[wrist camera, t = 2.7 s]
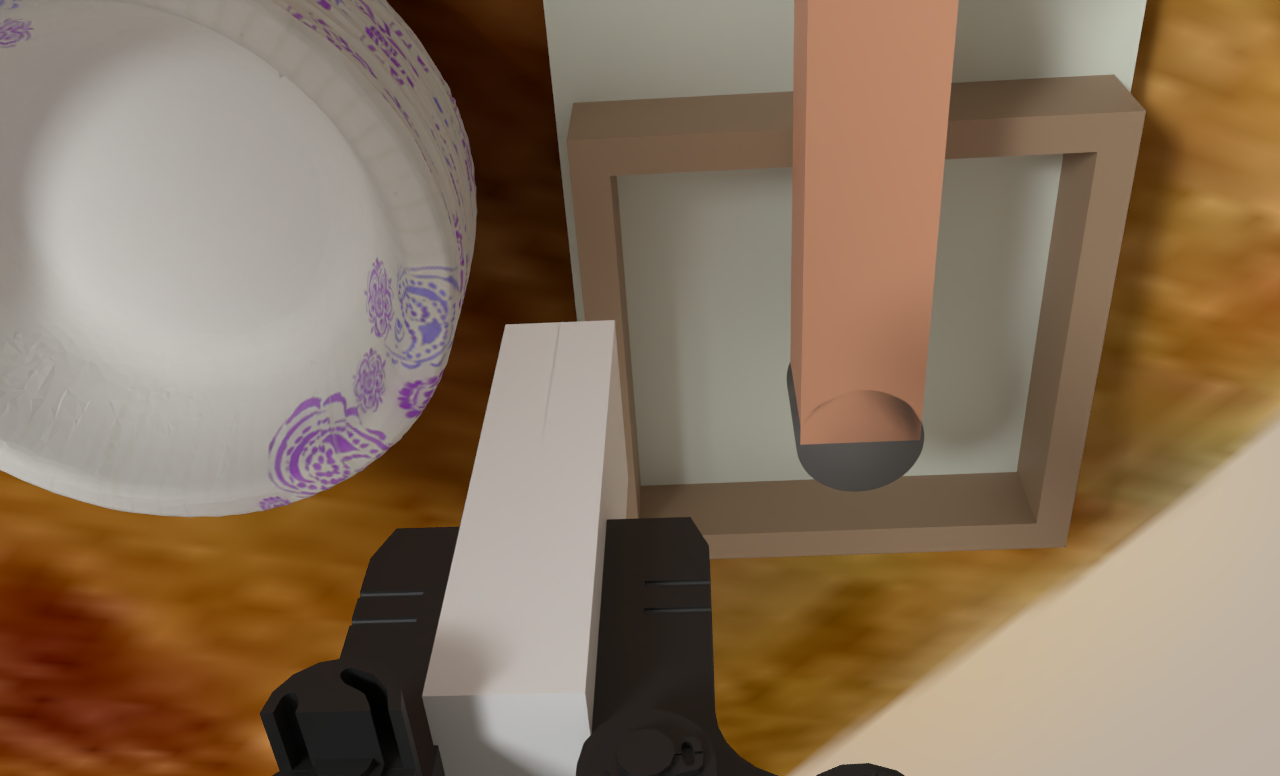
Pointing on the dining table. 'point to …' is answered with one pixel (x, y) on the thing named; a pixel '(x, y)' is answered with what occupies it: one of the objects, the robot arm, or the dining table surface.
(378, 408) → the paper bowls
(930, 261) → the leg bar
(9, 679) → the dining table surface
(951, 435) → the seat board
